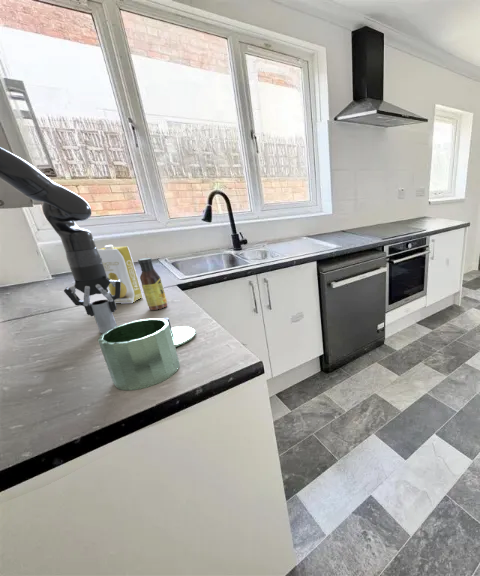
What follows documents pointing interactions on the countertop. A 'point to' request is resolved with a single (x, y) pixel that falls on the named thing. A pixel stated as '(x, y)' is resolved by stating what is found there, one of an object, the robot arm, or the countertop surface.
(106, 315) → the grey tube
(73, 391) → the countertop surface
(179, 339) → the tin lid
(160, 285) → the sauce bottle
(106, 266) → the juice carton
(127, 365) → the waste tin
